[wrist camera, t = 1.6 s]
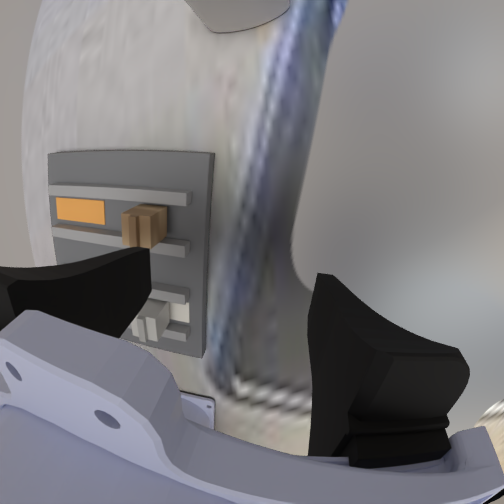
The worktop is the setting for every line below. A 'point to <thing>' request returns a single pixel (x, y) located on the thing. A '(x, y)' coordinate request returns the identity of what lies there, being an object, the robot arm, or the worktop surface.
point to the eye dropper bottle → (237, 13)
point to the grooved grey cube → (151, 320)
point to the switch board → (110, 228)
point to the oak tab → (144, 225)
